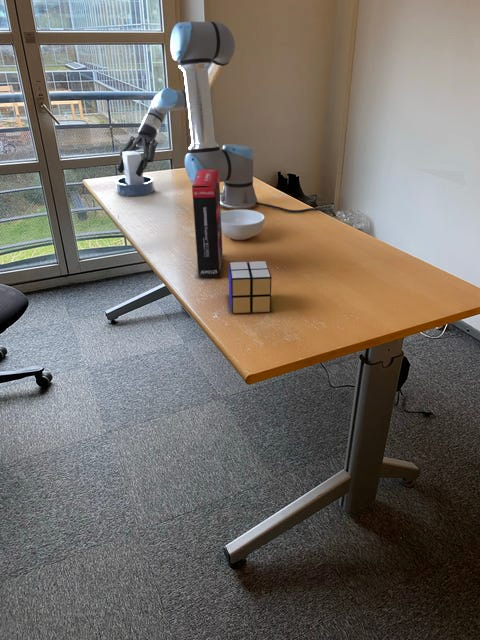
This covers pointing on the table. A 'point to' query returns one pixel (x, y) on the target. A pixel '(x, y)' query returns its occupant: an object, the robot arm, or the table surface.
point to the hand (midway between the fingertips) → (128, 173)
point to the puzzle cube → (249, 287)
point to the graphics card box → (207, 222)
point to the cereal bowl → (241, 223)
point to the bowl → (135, 187)
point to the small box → (132, 167)
